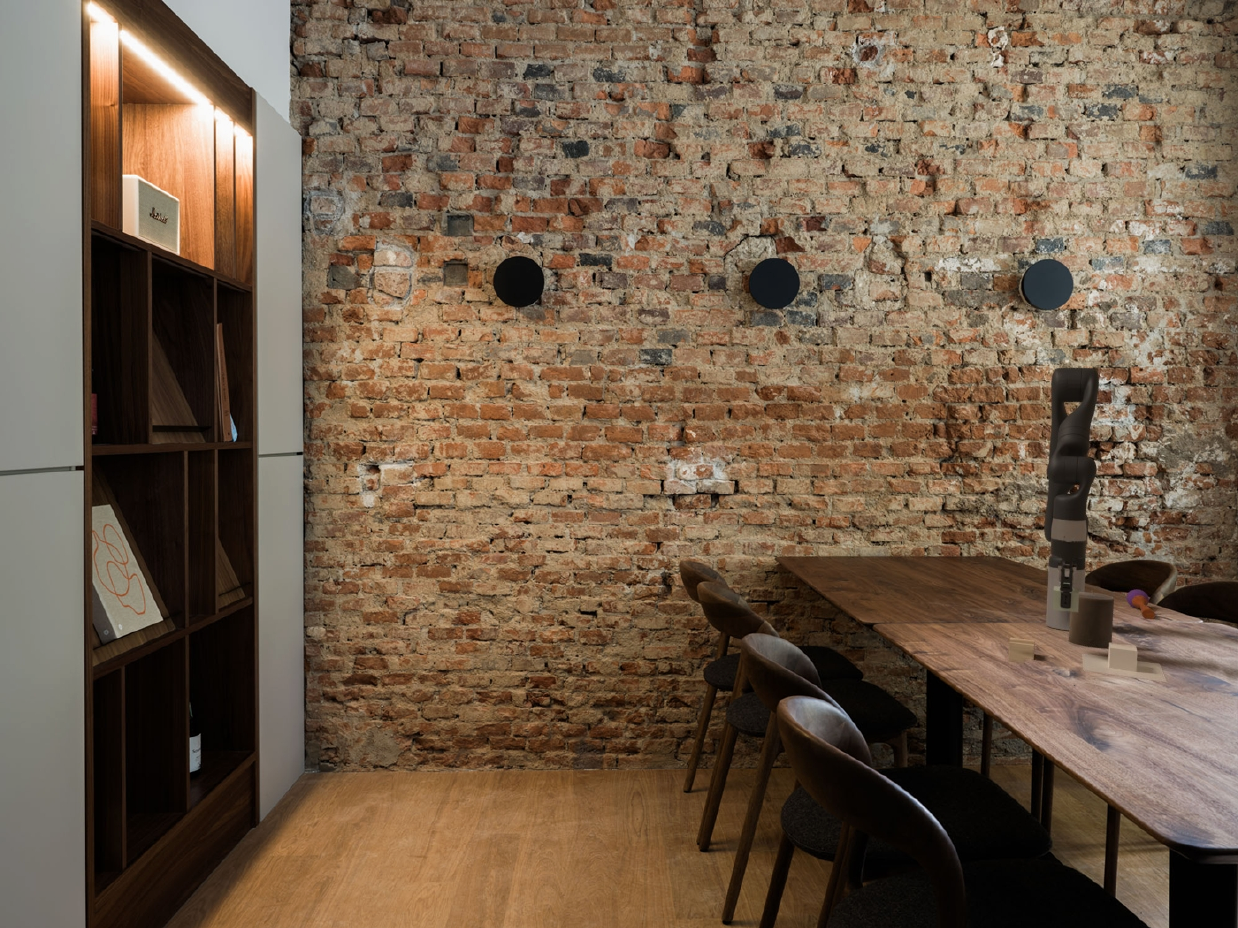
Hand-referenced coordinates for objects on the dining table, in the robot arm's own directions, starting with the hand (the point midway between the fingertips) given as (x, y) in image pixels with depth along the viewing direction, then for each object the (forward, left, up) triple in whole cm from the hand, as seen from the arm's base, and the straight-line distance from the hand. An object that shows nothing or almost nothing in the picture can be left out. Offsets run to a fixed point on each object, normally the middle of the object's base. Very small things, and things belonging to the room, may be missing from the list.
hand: (1065, 605), depth 200 cm
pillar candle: (-15, +6, -13) cm, 21 cm away
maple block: (+8, -9, -13) cm, 18 cm away
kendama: (-72, +21, -14) cm, 76 cm away
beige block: (+6, +12, -12) cm, 18 cm away
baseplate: (+6, +12, -13) cm, 19 cm away
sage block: (0, 0, -1) cm, 1 cm away
